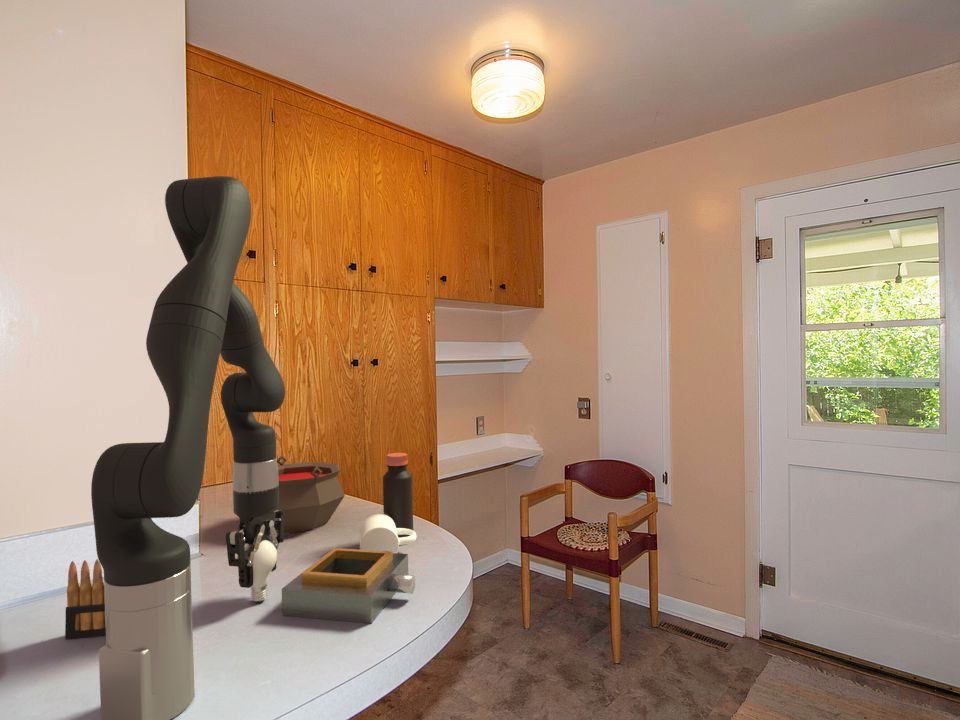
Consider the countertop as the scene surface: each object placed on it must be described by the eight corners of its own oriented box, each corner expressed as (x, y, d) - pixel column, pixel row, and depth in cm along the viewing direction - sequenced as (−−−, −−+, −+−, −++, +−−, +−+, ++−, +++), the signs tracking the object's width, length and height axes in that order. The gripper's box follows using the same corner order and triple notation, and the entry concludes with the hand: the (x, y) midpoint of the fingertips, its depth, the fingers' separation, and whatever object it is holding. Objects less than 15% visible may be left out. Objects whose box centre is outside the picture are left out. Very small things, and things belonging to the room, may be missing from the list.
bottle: (416, 542, 124) (414, 455, 123) (387, 547, 121) (385, 458, 121) (409, 533, 130) (407, 450, 129) (381, 537, 127) (379, 453, 127)
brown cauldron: (364, 523, 139) (363, 459, 138) (271, 547, 123) (269, 475, 122) (322, 504, 156) (320, 448, 156) (235, 523, 140) (233, 460, 140)
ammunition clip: (144, 627, 88) (141, 554, 88) (138, 633, 86) (136, 558, 86) (71, 633, 86) (69, 559, 86) (64, 640, 84) (62, 563, 84)
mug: (360, 567, 110) (359, 529, 110) (360, 550, 120) (359, 514, 120) (419, 561, 113) (418, 523, 113) (414, 544, 123) (413, 509, 123)
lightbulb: (264, 611, 92) (262, 547, 92) (231, 608, 94) (229, 545, 93) (285, 594, 99) (283, 534, 98) (254, 591, 100) (252, 533, 100)
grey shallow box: (394, 625, 87) (393, 588, 87) (282, 615, 91) (281, 580, 91) (428, 578, 104) (427, 547, 104) (332, 571, 108) (331, 542, 108)
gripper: (249, 496, 88) (252, 598, 88) (297, 475, 102) (299, 563, 102) (209, 495, 89) (212, 595, 90) (261, 474, 103) (263, 561, 104)
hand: (258, 577), depth 96 cm, fingers closed on lightbulb, 6 cm apart
